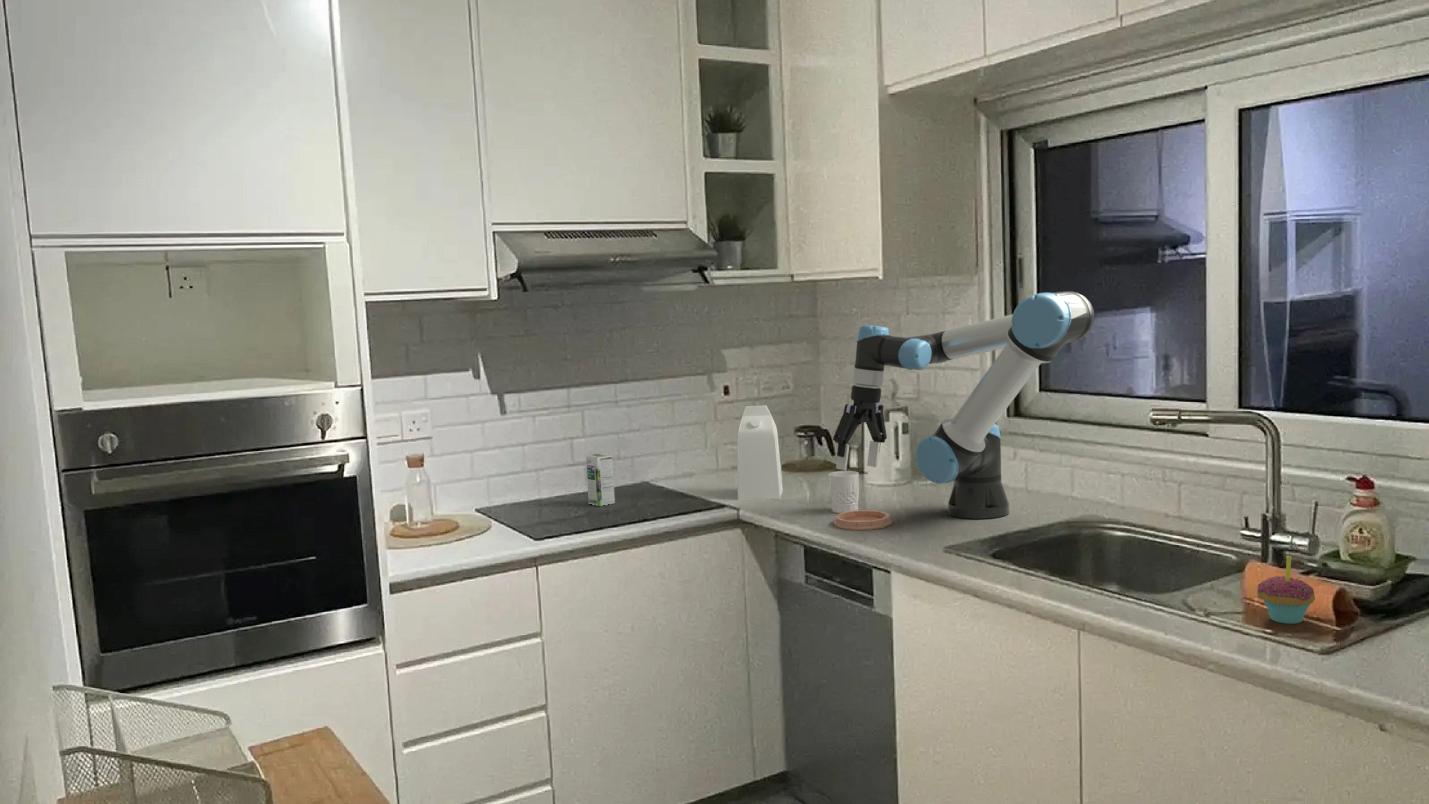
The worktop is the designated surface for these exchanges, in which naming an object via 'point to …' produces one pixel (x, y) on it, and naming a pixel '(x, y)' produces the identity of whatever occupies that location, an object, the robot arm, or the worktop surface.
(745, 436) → the milk
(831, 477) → the white cup
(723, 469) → the worktop surface
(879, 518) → the saucer
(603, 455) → the syrup box
